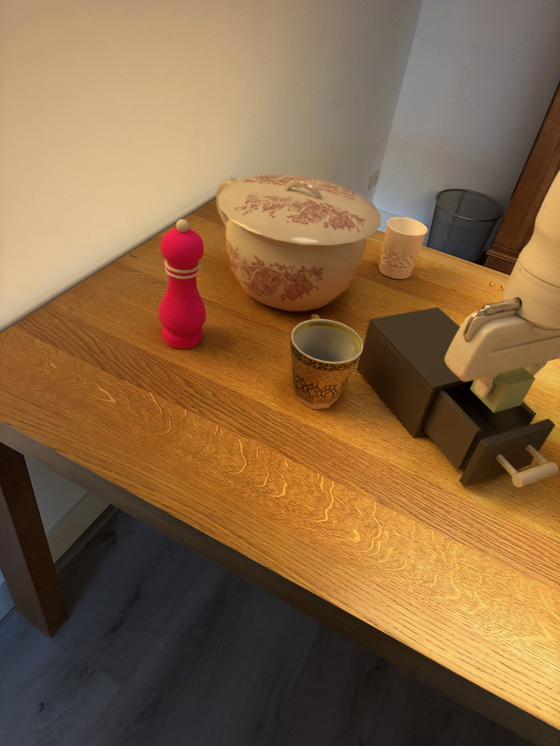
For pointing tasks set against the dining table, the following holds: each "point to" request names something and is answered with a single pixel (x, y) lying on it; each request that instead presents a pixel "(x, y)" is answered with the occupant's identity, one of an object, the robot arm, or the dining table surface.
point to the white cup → (401, 247)
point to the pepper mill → (182, 288)
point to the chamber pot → (294, 237)
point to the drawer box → (409, 362)
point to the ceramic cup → (322, 360)
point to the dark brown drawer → (487, 437)
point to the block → (507, 389)
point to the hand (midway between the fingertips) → (500, 388)
